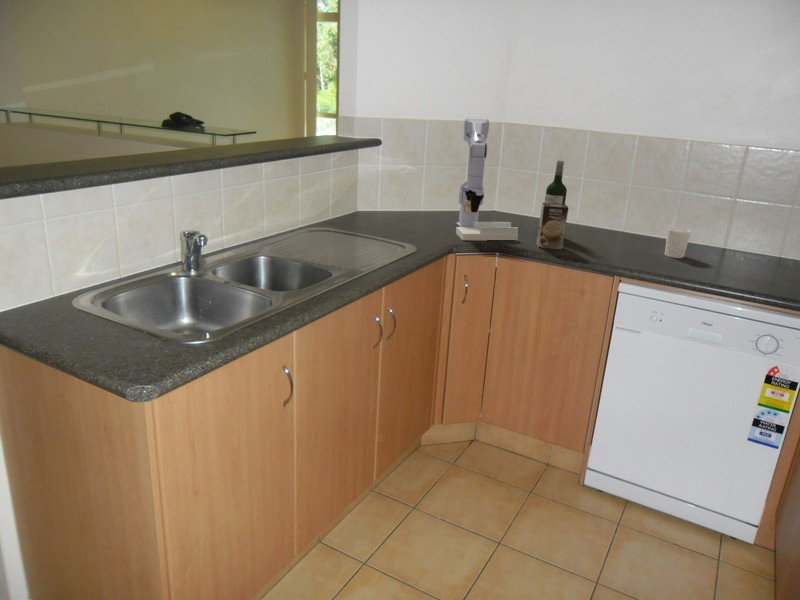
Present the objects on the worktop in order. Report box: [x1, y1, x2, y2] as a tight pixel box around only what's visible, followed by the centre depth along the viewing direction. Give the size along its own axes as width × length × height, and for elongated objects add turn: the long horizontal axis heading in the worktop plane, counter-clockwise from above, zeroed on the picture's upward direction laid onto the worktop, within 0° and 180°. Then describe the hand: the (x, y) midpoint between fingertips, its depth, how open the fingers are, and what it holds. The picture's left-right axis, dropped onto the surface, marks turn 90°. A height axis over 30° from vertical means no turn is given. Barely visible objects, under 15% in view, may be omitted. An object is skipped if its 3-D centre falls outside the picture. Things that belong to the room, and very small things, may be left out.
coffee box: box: [535, 202, 569, 250], centre depth 239 cm, size 9×6×16 cm
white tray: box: [455, 221, 519, 241], centre depth 250 cm, size 11×22×5 cm, turn 99°
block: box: [464, 200, 479, 215], centre depth 246 cm, size 4×4×4 cm
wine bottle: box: [544, 159, 568, 205], centre depth 253 cm, size 8×8×30 cm
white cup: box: [664, 226, 692, 259], centre depth 237 cm, size 8×8×10 cm
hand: (472, 210), depth 246 cm, fingers closed on block, 4 cm apart
